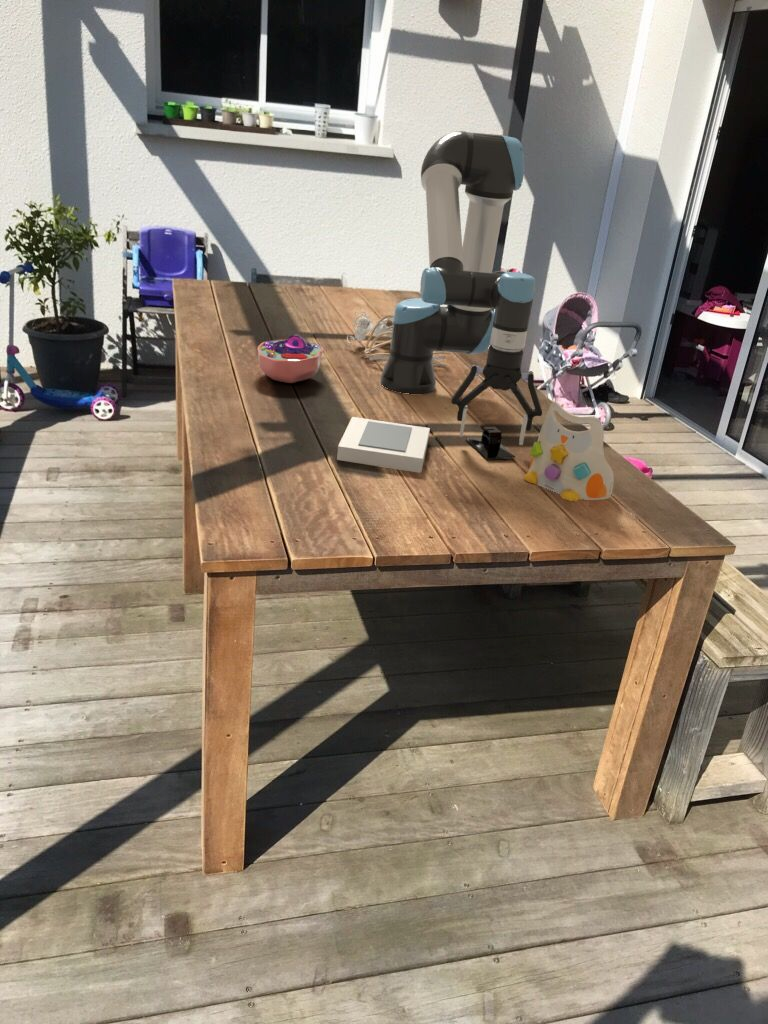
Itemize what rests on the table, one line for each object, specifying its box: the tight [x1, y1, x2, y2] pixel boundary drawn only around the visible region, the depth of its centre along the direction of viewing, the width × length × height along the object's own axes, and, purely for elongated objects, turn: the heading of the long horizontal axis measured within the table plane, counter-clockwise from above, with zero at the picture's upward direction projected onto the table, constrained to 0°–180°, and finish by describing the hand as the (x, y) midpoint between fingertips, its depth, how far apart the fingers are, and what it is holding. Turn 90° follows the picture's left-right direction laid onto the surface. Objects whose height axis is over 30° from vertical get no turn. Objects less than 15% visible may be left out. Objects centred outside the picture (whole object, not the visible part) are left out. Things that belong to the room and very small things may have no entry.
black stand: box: [465, 426, 516, 460], centre depth 190 cm, size 12×7×5 cm, turn 18°
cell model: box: [257, 334, 324, 384], centre depth 219 cm, size 17×20×11 cm
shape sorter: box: [523, 401, 615, 502], centre depth 174 cm, size 20×10×18 cm, turn 44°
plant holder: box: [346, 309, 451, 368], centre depth 249 cm, size 28×35×16 cm
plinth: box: [336, 416, 431, 474], centre depth 183 cm, size 18×18×4 cm
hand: (491, 438), depth 189 cm, fingers open, 13 cm apart
